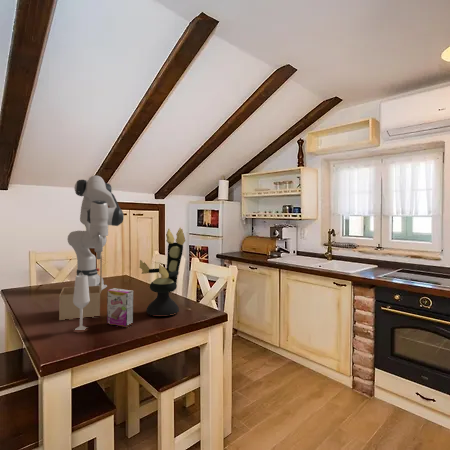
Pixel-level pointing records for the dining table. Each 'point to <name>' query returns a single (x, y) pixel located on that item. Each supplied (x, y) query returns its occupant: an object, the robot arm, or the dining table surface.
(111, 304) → the candy bar box
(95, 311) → the carton
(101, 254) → the carton flap
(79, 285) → the champagne flute
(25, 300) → the dining table surface
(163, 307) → the black and tan chair
